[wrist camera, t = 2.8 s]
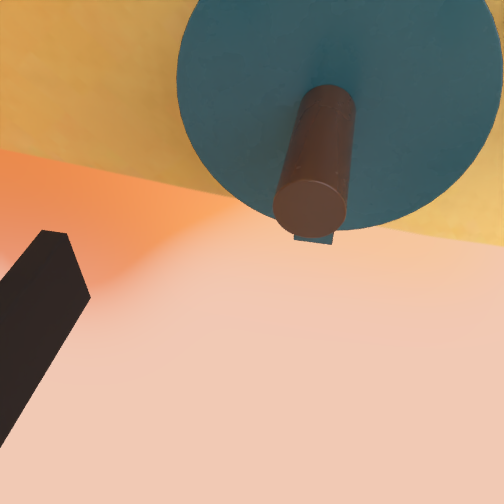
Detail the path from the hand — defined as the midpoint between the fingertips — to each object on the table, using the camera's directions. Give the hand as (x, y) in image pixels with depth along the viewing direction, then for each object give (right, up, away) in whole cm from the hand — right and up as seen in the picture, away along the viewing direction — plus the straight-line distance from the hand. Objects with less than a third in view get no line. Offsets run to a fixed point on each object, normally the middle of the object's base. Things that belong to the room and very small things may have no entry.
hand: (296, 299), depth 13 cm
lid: (+2, +8, +9) cm, 13 cm away
